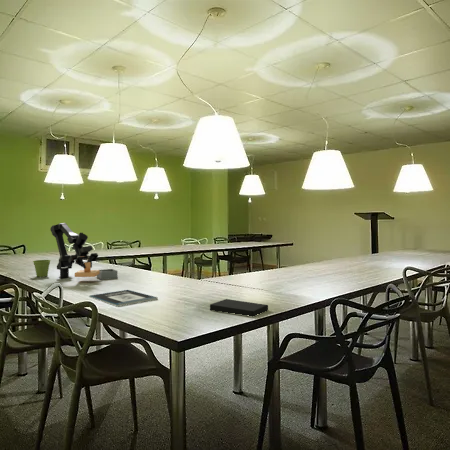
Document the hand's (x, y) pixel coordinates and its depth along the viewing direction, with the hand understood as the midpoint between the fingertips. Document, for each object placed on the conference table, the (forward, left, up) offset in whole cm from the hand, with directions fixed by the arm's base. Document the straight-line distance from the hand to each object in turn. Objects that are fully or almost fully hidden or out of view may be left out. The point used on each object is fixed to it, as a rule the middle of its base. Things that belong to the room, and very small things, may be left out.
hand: (88, 267), depth 253 cm
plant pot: (-47, -20, -10) cm, 52 cm away
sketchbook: (+58, +3, -11) cm, 59 cm away
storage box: (-8, +15, -10) cm, 20 cm away
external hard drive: (+114, +38, -10) cm, 121 cm away
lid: (-1, 0, -5) cm, 5 cm away
